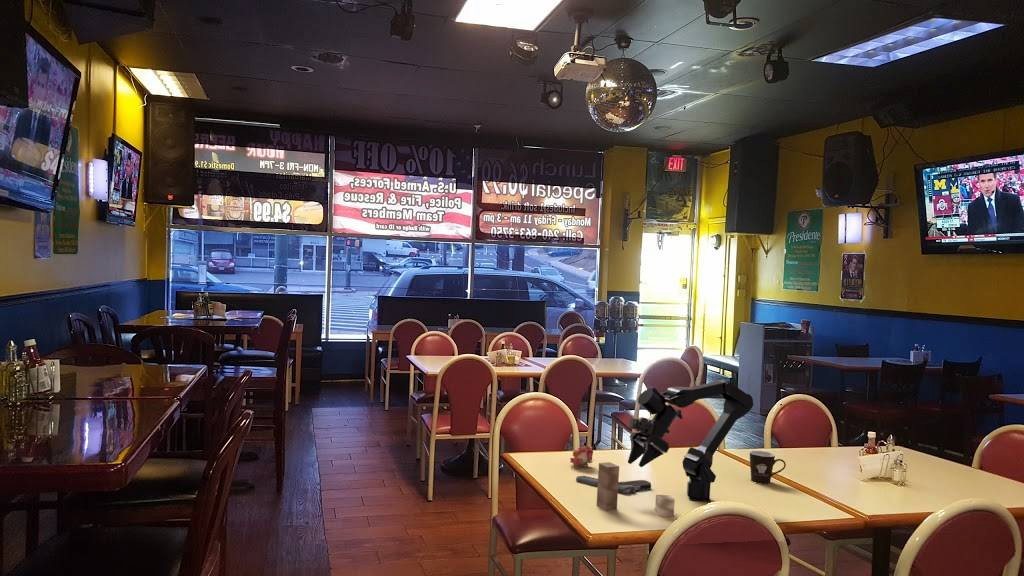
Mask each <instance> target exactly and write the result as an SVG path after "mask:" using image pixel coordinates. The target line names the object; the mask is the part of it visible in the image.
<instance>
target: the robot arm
mask: <svg viewBox="0 0 1024 576" xmlns="http://www.w3.org/2000/svg"><path fill="white" fill-rule="evenodd" d="M719 395H720V397H721V398H723V399H724V401H723V410H722V413H721V414H720V416H719V417H718V419H717V420H716V422H715V423H714V424H713V426H712V427H711V429H710V430H709V432H708V433H707V434H706V436H705V437H704V439H703V441H702V442H701V443H700V445H699V446H698V447H696V448H695V447H692V446H690V447H689V449H688V451H687V452H686V454H685V455H683V459H682V468H683V470H684V472H685V475H686V477H689V481H687V484H686V495H687V497H688V498H689V500H690V501H698V502H711V500H712V499H711V483H715V480H716V478H717V476H716V474H715V473H714V471H713V470H712V469H711V468H712V466H713V461H714V454H715V453H716V451H717V450H718V449H719V447H720V445H721V444H722V442H723V441H724V439H725V438H726V437H727V435H728V434H729V432H730V431H731V429H732V428H733V426H734V425H735V423H736V422H737V420H739V419H741V418H743V417H745V416H746V415H747V414H749V412H750V411H751V410H752V409H753V407H754V399H753V396H752V395H751V394H749V393H746V392H745V391H743V390H742V389H741V388H739V387H737V386H736V385H734V384H733V383H732V382H731V381H729V380H724V379H718V380H716V381H711V382H707V383H703V384H698V385H694V386H670V387H668V388H667V389H666V391H664V392H661V393H660V392H659V390H658V389H656V388H655V387H654V386H649V388H648V389H645V390H644V391H642V392H641V393H640V394H639V396H638V398H637V403H638V404H639V405H640V406H641V407H642V408H643V409H645V411H647V412H648V413H649V414H650V415H654V416H653V417H652V419H648V418H646V417H639V419H637V418H632V417H631V418H630V419H629V424H628V427H627V429H631V430H632V429H633V430H636V431H632V432H631V433H630V435H629V440H630V442H631V449H630V452H629V453H630V454H629V456H628V460H627V463H628V464H629V465H632V464H633V463H634V462H636V461H637V460H638V459H639V458H640V457H641V458H640V460H639V463H638V466H639V467H640V468H643V467H645V466H646V465H648V464H649V463H650V462H652V461H654V460H655V459H658V458H659V457H660V456H663V455H664V454H667V453H668V451H669V449H670V443H668V441H666V440H665V439H663V438H664V437H665V435H668V434H669V433H670V430H669V428H671V426H672V425H673V423H674V421H675V420H676V419H679V420H682V419H683V415H682V410H681V409H685V408H687V407H689V406H691V405H693V404H694V403H695V402H696V401H698V400H702V399H706V398H711V397H717V396H719ZM673 406H675V407H677V409H676V408H675V407H673ZM678 408H681V409H678Z"/></svg>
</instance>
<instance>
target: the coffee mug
mask: <svg viewBox="0 0 1024 576" xmlns="http://www.w3.org/2000/svg"><path fill="white" fill-rule="evenodd" d="M775 458H776V455H775V453H772V452H769V451H763V450H750V451H749V465H750V469H749V470H750V481H751V482H752V481H753V483H754V482H756V483H755V484H758V483H761V484H760V485H769V484H768V483H770V484H771V479H772V477H773V476H774V475H776V474H778V473H780V472H782V471H783V470H784V469H785V468H786V466H787V465H786V461H784V460H783V459H781V458H777V459H775ZM778 461H779V462H782V463H783V464H784V465H783V467H782V468H781V469H779V470H777V471H775V472H773V469H774V465H775V464H776V463H777V462H778Z"/></svg>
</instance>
